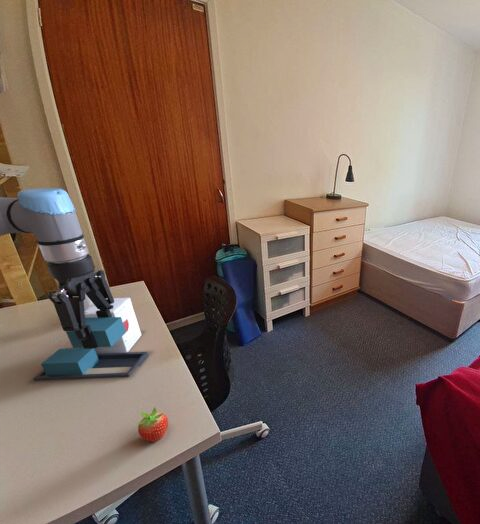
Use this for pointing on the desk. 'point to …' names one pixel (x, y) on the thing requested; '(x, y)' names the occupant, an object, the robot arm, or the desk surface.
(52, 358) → the seated pad
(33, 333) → the desk surface
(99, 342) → the loose blue pad
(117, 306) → the rectangular carton
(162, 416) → the fruit
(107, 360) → the backing tray
